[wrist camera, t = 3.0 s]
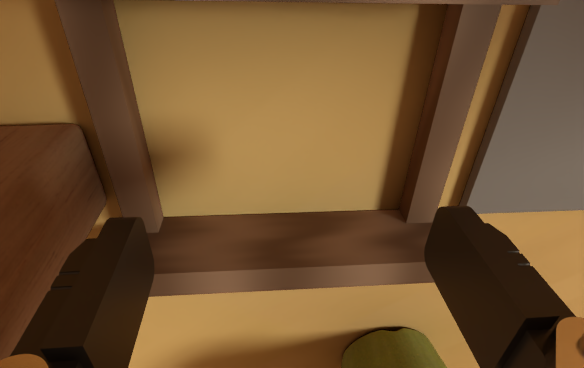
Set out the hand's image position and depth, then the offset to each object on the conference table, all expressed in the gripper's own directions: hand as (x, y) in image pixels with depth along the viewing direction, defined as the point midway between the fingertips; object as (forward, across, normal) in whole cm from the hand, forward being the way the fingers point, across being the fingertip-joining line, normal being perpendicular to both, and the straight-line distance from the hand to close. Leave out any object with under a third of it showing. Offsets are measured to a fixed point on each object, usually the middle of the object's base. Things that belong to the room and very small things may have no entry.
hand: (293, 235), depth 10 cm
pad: (+8, -15, 0) cm, 17 cm away
